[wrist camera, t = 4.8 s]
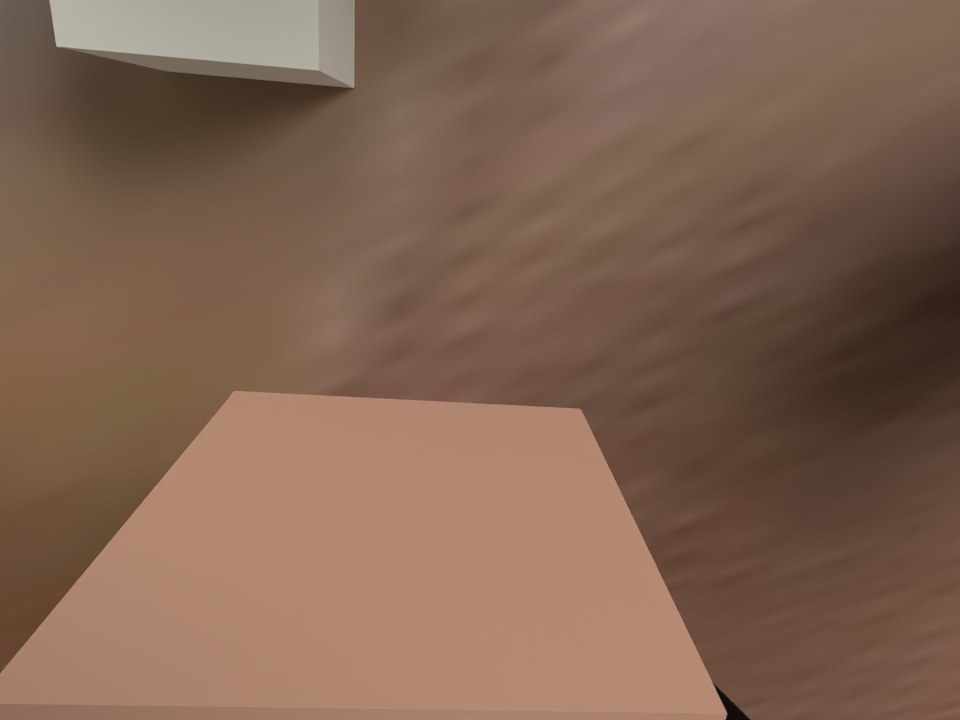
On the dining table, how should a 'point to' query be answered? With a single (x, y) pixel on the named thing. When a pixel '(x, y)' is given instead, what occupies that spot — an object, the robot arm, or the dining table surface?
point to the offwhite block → (217, 36)
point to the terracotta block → (371, 579)
